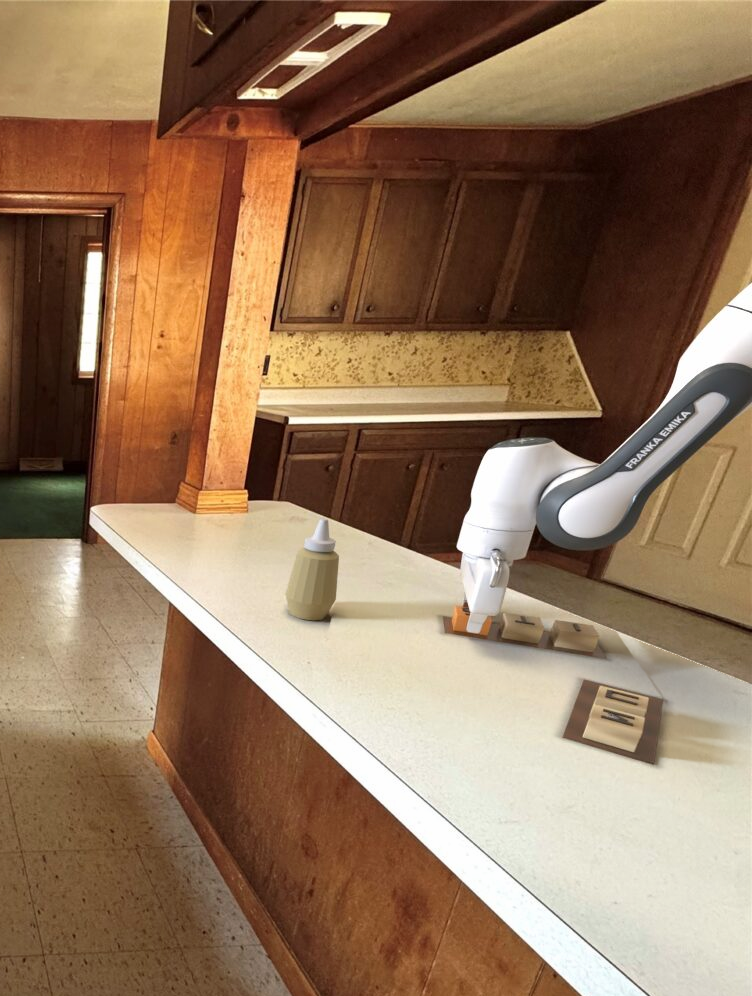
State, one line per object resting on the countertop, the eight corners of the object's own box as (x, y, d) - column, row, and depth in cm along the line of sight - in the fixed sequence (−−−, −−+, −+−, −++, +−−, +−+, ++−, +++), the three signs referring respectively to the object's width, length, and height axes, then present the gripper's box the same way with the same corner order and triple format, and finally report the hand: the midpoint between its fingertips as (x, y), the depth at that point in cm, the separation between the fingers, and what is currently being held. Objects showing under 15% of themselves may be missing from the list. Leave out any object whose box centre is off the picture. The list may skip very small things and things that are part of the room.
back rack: (592, 644, 106) (600, 621, 104) (604, 664, 100) (613, 641, 98) (441, 620, 116) (446, 600, 114) (443, 638, 110) (449, 616, 108)
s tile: (484, 625, 111) (489, 609, 110) (487, 635, 108) (492, 619, 107) (451, 620, 114) (455, 604, 113) (453, 630, 110) (457, 614, 109)
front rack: (581, 685, 94) (590, 660, 93) (660, 705, 89) (671, 679, 88) (560, 742, 82) (570, 715, 81) (650, 770, 77) (663, 741, 75)
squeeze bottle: (275, 606, 124) (290, 513, 117) (319, 606, 124) (336, 512, 117) (294, 624, 117) (311, 526, 110) (340, 623, 116) (361, 525, 110)
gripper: (528, 563, 95) (501, 649, 100) (509, 528, 111) (486, 603, 116) (474, 557, 98) (450, 640, 104) (463, 523, 114) (443, 597, 120)
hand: (469, 620), depth 110 cm, fingers open, 8 cm apart
